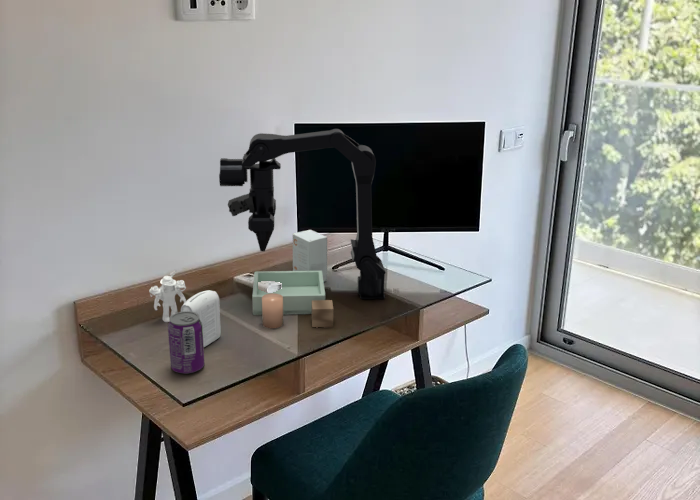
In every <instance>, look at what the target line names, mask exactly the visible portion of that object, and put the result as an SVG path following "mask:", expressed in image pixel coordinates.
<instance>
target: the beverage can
mask: <svg viewBox="0 0 700 500" xmlns="http://www.w3.org/2000/svg"><path fill="white" fill-rule="evenodd" d="M177 312H178V313H175V314H173V315H172V316H171V315H170V316H169V317H170V322H169V323H168V324H167V332H168V333H167V335H168V345H169V347H168V348H169V358H170V368H171V370H172V371H174V372H176V373H179V374H187V375H188V374H193V373H196V372H198V371H200V370H201V369H203V367H204V366H205V350H204V348H205V347H204V346H203V329H202V322H201V321H200V317H199V315H198V314H197V313H195V312H190V311H184V312H181V311H177Z"/></svg>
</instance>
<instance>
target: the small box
mask: <svg viewBox="0 0 700 500" xmlns="http://www.w3.org/2000/svg"><path fill="white" fill-rule="evenodd" d="M292 271H322V275H323V282H327V281H328V236H326V235H323V234H321V233H319V232H317V231H315V230H312V229H308V230H302V231H298V232H294V233H292Z"/></svg>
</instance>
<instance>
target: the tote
mask: <svg viewBox="0 0 700 500" xmlns="http://www.w3.org/2000/svg"><path fill="white" fill-rule="evenodd" d="M261 281H275V282H280V283H282V289H280V290H278V291H276V292H273V293H275V294H280V295H282V296H283V315H312V300H326V291H325V289H326V288H325V283H324V282H325V281H324V282H323V275H322V271H293V270H281V271H280V270H275V271H273V270H272V271H270V270H269V271H263V270H262V271H254V275H253V287H252V296H251V297H252V315H253V316H262V297H263V296H264V295H266V294H271V293H266V292H264V291H261V290H259V289H258V282H261Z"/></svg>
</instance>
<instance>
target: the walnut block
mask: <svg viewBox="0 0 700 500" xmlns="http://www.w3.org/2000/svg"><path fill="white" fill-rule="evenodd" d="M333 305H334V304H333V300H332V299H331V300H330V299H325V300H312V314H311V326H312V327H316V328H318V327H324V328H334V306H333ZM316 328H315V329H316Z"/></svg>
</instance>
